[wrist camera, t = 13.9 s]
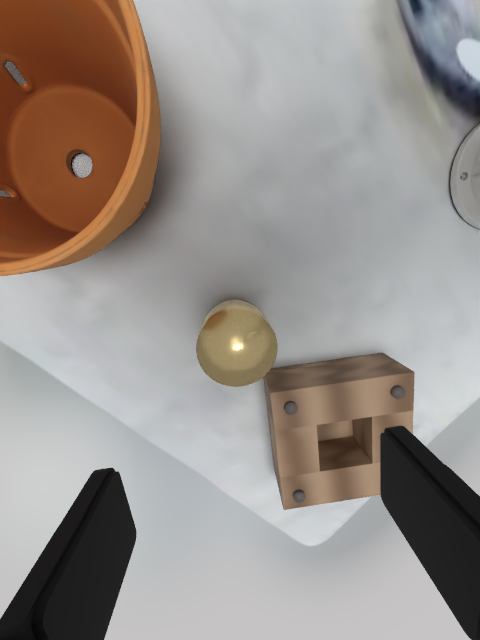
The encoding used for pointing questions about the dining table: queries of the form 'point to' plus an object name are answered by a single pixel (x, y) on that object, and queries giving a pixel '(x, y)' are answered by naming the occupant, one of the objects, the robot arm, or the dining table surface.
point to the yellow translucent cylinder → (236, 344)
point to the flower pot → (73, 129)
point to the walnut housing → (334, 425)
